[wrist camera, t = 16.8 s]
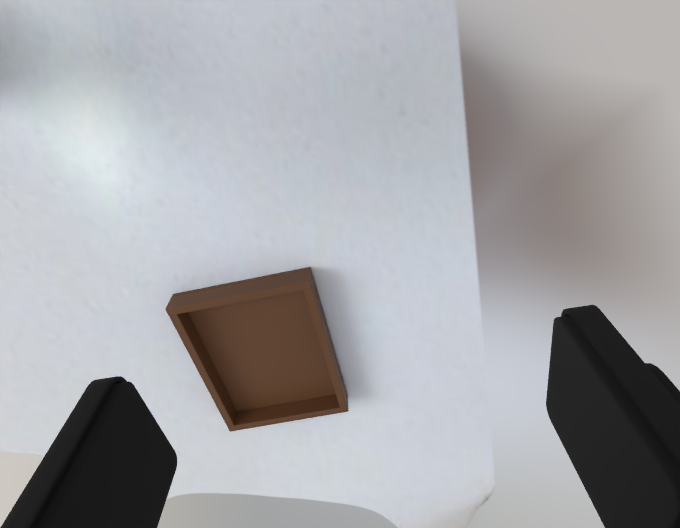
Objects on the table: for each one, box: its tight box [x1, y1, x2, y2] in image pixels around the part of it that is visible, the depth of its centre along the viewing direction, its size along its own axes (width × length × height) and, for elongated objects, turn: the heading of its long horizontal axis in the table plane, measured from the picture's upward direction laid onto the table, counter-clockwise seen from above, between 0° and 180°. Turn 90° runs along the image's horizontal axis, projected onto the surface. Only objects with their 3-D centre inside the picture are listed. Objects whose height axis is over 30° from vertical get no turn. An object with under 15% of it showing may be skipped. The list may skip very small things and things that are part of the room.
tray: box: [166, 267, 348, 431], centre depth 45 cm, size 18×14×2 cm
